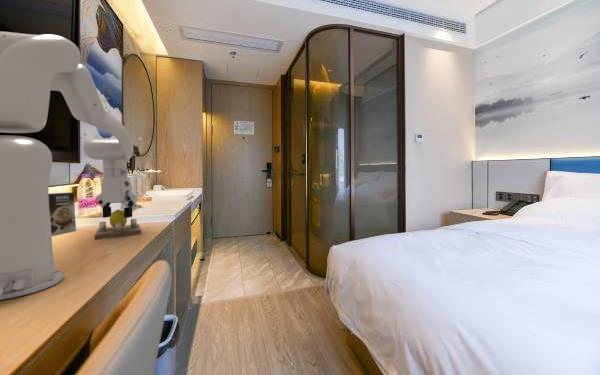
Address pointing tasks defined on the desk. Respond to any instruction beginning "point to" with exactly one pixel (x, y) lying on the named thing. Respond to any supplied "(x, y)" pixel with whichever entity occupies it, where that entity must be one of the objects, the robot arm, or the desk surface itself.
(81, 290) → the desk surface
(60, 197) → the coffee box
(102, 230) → the peg cradle
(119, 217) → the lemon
